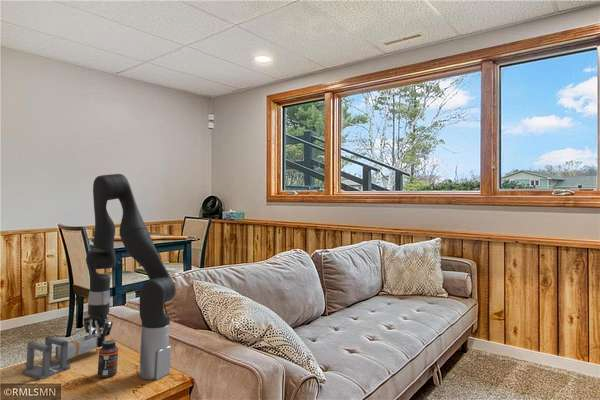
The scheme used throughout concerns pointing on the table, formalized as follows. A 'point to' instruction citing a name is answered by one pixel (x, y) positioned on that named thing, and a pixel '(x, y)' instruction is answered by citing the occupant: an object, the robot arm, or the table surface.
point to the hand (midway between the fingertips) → (96, 345)
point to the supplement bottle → (108, 359)
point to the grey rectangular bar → (79, 346)
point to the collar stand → (46, 358)
